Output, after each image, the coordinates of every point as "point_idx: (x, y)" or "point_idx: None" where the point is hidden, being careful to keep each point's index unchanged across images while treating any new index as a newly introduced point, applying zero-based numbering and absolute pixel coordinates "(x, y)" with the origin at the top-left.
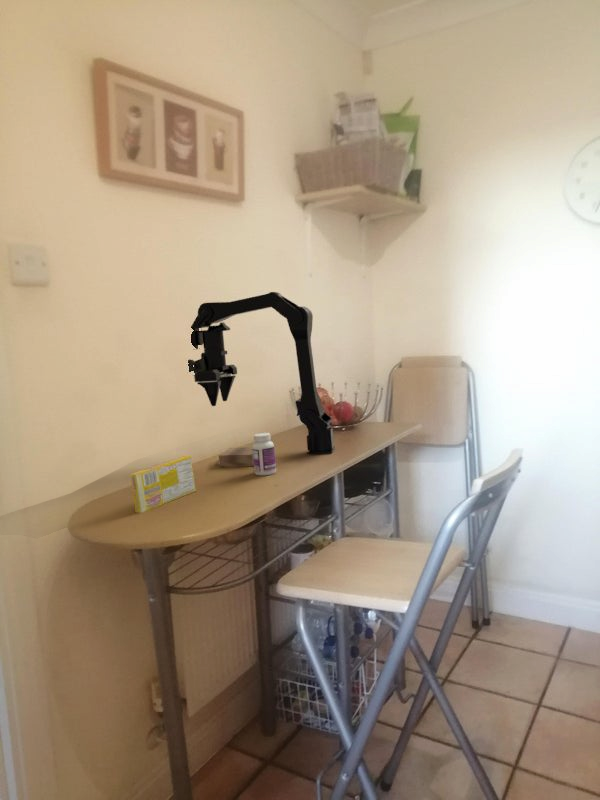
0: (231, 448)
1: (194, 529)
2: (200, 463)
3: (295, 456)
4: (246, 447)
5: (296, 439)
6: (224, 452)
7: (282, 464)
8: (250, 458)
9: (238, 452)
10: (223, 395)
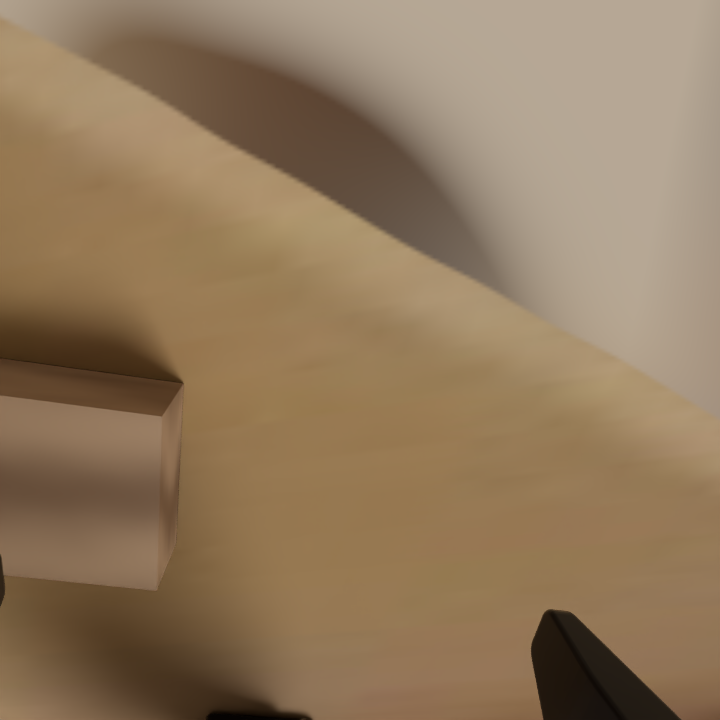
0: (138, 430)
1: None
2: (66, 199)
3: (180, 669)
4: (152, 516)
5: None
6: (8, 406)
7: (19, 636)
8: None
9: (5, 492)
10: (583, 714)
